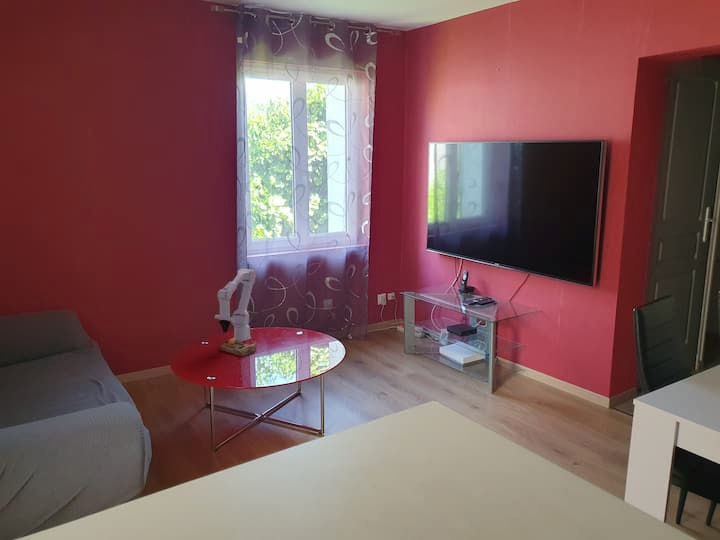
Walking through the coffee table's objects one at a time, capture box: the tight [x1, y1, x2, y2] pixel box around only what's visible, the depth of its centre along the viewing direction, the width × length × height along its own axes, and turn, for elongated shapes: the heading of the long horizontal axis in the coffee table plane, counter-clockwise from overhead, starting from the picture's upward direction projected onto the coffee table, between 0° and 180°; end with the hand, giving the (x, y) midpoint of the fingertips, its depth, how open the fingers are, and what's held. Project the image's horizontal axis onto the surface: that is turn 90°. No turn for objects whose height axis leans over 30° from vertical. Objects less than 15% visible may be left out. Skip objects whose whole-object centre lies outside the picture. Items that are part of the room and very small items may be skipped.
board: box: [219, 341, 257, 357], centre depth 326 cm, size 11×18×4 cm, turn 58°
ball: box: [228, 338, 235, 345], centre depth 329 cm, size 4×4×4 cm
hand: (225, 332), depth 330 cm, fingers closed
